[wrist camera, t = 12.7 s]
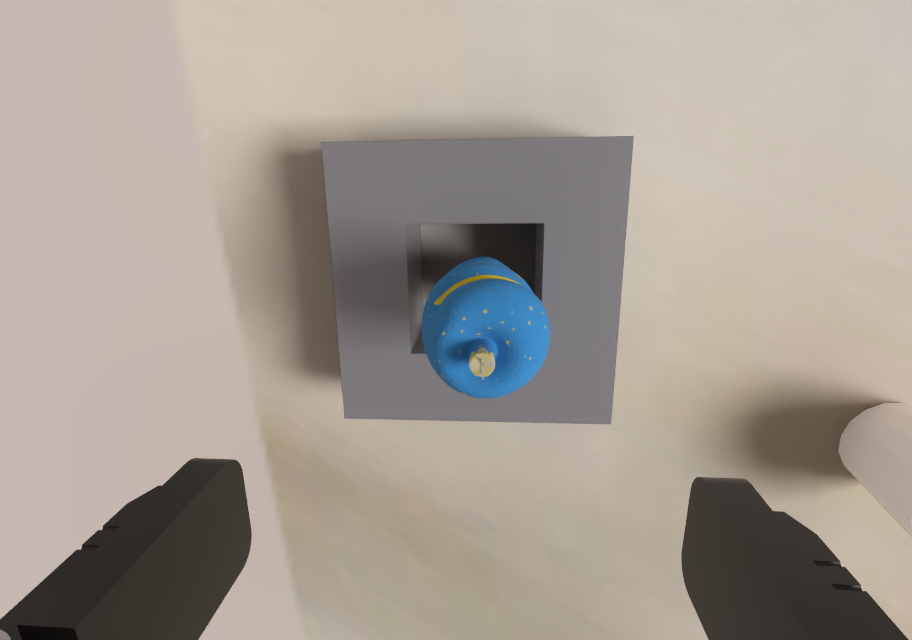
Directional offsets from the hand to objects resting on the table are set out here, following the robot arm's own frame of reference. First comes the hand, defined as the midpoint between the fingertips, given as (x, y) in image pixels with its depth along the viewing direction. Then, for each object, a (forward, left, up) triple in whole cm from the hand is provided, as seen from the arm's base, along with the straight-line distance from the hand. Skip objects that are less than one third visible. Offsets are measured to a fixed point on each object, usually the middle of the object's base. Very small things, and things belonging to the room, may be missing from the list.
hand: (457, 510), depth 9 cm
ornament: (0, 0, -23) cm, 23 cm away
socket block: (0, 0, -23) cm, 23 cm away
